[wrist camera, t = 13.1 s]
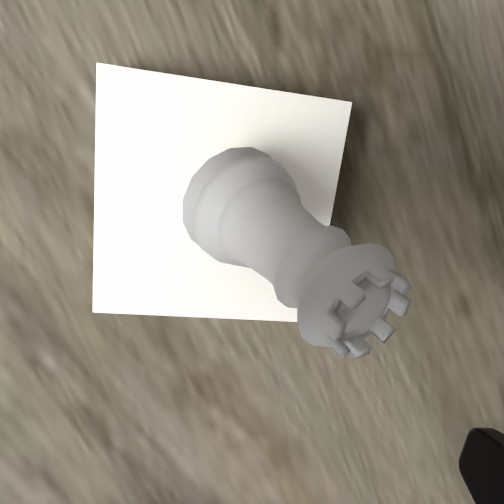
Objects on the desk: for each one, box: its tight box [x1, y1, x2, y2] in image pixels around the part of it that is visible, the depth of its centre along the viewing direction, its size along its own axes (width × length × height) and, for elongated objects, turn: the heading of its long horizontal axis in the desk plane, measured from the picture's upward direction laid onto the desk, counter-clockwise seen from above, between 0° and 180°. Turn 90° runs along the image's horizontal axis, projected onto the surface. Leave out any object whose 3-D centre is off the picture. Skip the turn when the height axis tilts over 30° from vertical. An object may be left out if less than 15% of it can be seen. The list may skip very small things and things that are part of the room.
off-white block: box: [93, 63, 352, 322], centre depth 18 cm, size 10×10×3 cm
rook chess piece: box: [183, 147, 411, 359], centre depth 13 cm, size 4×4×8 cm
